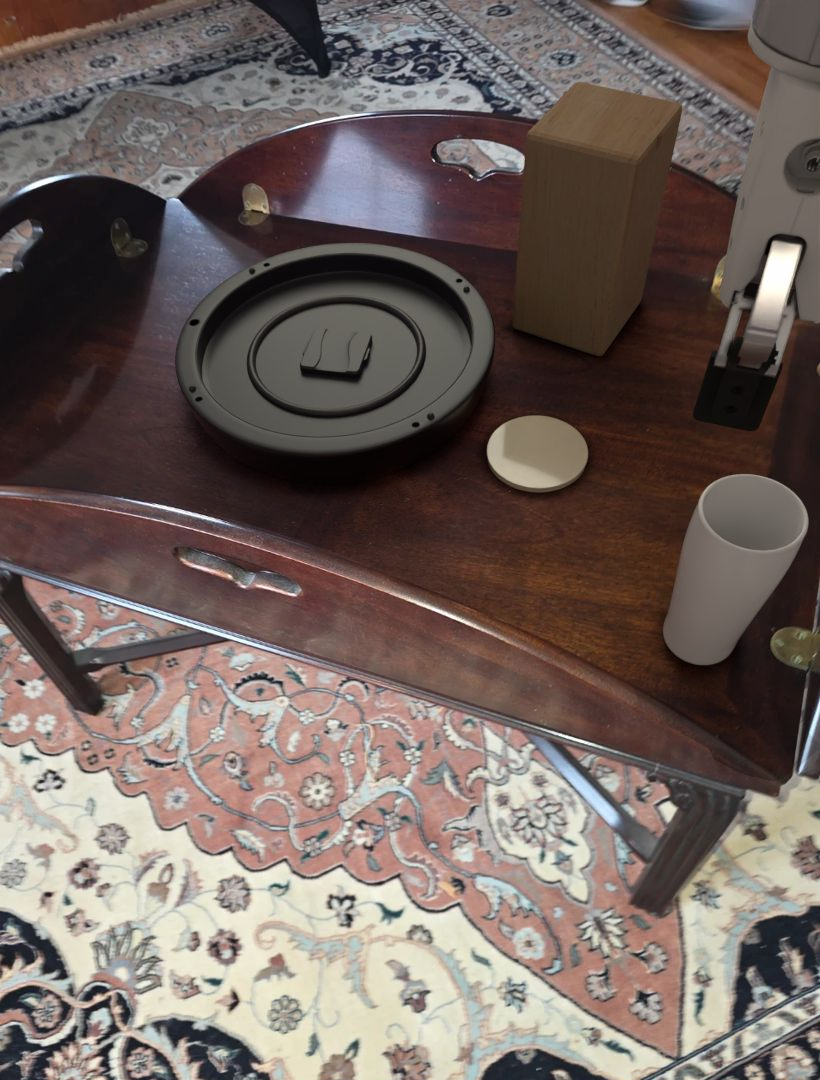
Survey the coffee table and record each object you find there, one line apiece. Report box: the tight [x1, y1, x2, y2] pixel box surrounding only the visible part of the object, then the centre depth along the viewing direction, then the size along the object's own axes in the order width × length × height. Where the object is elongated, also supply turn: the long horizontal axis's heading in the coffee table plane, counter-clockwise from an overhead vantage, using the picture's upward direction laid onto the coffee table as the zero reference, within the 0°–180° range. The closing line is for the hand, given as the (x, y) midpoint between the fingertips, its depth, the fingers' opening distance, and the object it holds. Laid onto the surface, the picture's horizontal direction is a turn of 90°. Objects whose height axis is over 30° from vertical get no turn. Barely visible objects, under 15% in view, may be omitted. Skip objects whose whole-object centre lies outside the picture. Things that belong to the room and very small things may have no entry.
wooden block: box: [511, 81, 683, 357], centre depth 81 cm, size 10×10×20 cm
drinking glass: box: [662, 473, 809, 666], centre depth 61 cm, size 7×7×15 cm
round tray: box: [174, 242, 496, 484], centre depth 84 cm, size 30×6×30 cm
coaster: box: [485, 415, 589, 493], centre depth 79 cm, size 9×9×1 cm
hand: (739, 360), depth 47 cm, fingers open, 9 cm apart
